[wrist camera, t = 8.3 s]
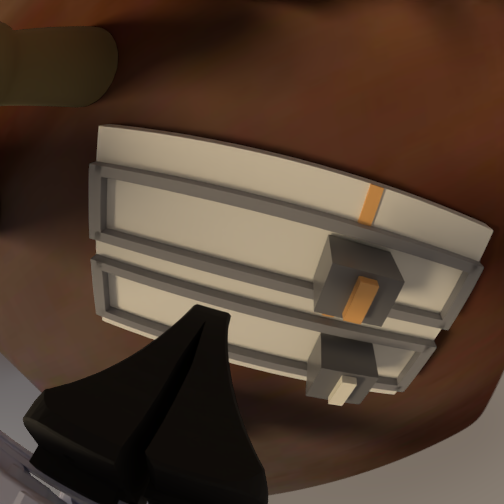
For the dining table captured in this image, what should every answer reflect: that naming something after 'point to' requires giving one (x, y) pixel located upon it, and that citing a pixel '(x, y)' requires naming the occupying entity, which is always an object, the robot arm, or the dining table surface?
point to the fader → (341, 370)
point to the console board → (266, 249)
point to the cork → (55, 65)
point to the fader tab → (356, 282)
